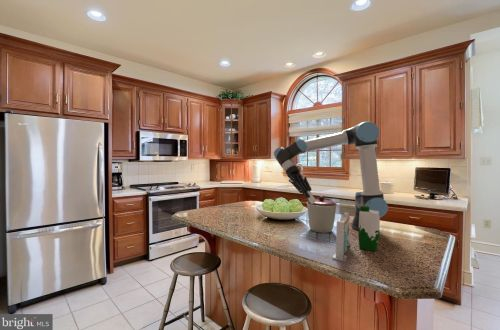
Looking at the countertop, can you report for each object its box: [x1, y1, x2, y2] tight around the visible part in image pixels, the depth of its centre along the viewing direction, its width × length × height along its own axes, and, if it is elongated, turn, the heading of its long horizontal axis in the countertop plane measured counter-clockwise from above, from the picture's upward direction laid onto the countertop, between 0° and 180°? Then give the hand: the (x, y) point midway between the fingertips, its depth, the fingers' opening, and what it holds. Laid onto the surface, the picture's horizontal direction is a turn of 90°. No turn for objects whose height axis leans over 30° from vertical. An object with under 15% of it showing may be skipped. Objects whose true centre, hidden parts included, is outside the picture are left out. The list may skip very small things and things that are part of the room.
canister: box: [305, 195, 338, 234], centre depth 151 cm, size 18×18×21 cm
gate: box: [340, 216, 348, 232], centre depth 117 cm, size 16×2×13 cm, turn 151°
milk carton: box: [358, 206, 381, 252], centre depth 122 cm, size 9×9×20 cm
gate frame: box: [332, 212, 351, 263], centre depth 117 cm, size 25×5×16 cm, turn 152°
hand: (313, 202), depth 132 cm, fingers closed
